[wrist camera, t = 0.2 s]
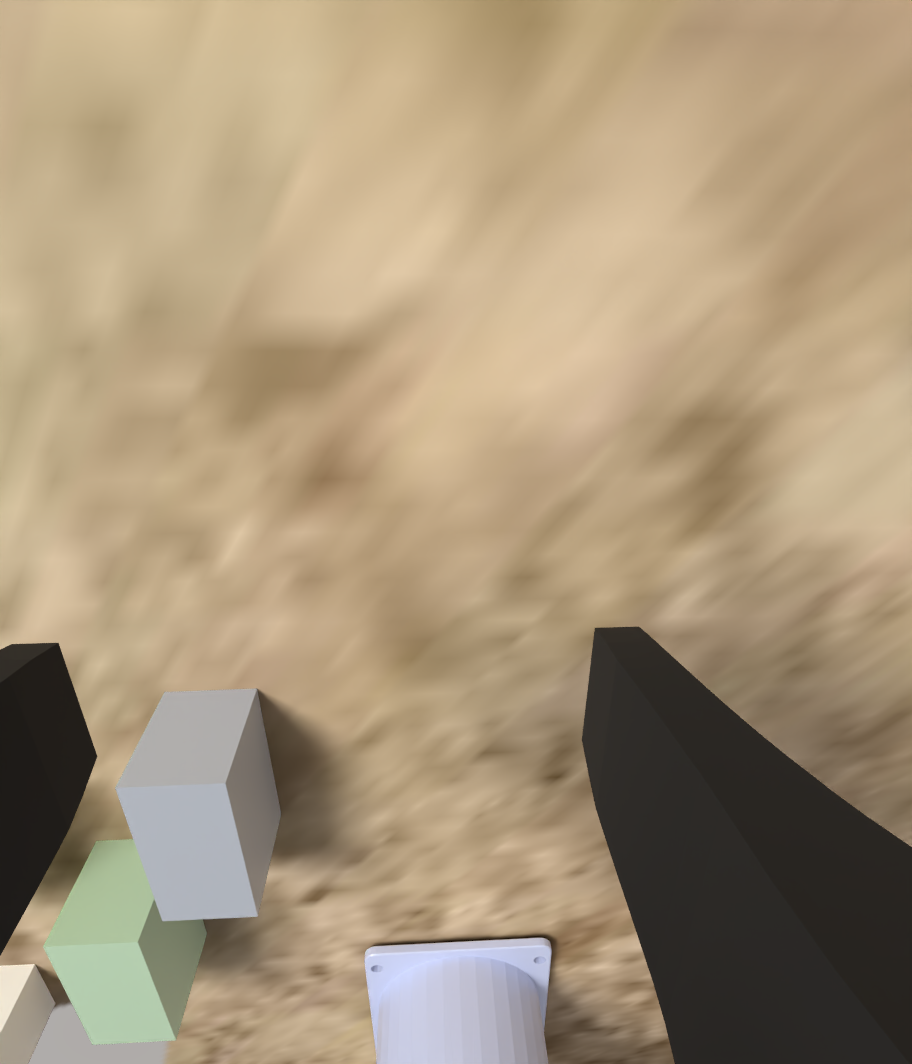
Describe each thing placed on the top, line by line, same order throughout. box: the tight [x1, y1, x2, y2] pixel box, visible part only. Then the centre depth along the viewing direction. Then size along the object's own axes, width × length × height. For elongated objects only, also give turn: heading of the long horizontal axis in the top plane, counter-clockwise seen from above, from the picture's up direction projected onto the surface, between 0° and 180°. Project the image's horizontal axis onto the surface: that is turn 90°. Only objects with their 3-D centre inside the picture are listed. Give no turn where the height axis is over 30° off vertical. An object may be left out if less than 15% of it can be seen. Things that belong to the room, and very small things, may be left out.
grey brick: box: [115, 689, 281, 921], centre depth 21 cm, size 6×3×4 cm, turn 1°
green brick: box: [43, 839, 207, 1045], centre depth 24 cm, size 6×3×4 cm, turn 1°
